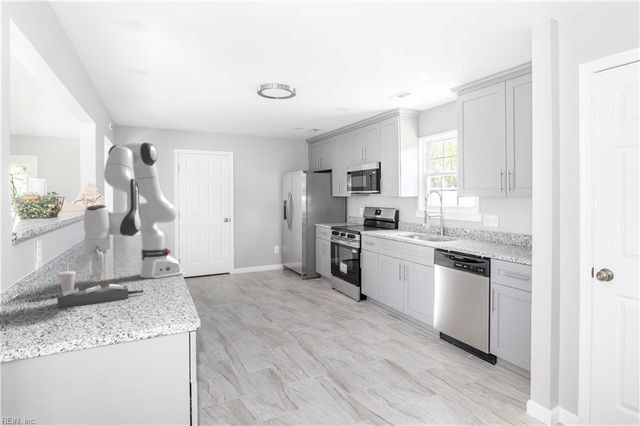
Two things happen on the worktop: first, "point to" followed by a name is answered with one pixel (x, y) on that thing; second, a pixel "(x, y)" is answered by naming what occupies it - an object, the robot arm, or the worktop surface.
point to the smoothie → (67, 279)
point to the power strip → (94, 296)
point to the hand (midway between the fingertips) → (98, 279)
